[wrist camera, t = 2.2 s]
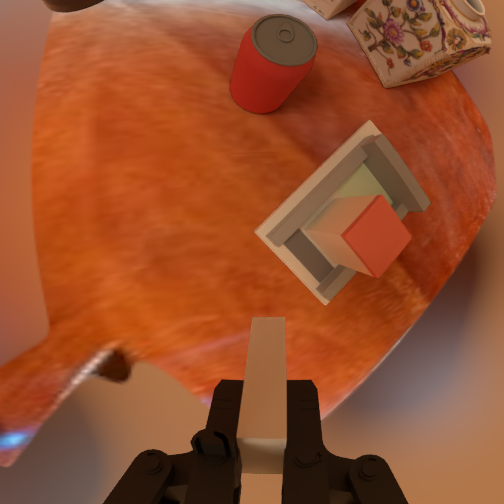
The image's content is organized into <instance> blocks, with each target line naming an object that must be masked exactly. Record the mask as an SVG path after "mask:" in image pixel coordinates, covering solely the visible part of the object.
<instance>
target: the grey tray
mask: <svg viewBox="0 0 504 504" xmlns="http://www.w3.org/2000/svg"><path fill="white" fill-rule="evenodd" d="M370 195H383V196H384V198H385V199H386V200H387V202H388V203H389V204H390V206H391V207H392V209H393V210H394V211H395V213H396V214H397V216H398V217H399V219H400V220H402V219H403V218H404V217H405V215H406V214H407V213H408V212H425V210H426V209H427V208H428V206H429V205H430V204H431V202H430V200H429V199H428V197H427V195H426V194H425V192H424V191H423V189H422V188H421V186H420V185H419V183H418V182H417V180H416V178H415V177H414V176H413V174H412V173H411V171H410V170H409V168H408V167H407V165H406V164H405V162H404V161H403V160H402V158H401V157H400V155H399V154H398V153H397V151H396V150H395V149H394V147H393V146H392V145H391V143H390V142H389V141H388V139H387V138H386V137H385V135H384V134H383V133H382V134H381V132H380V131H379V130H378V129H377V127H376V126H375V125H374V124H373V122H372V121H371V120H368V121H366V122H365V123H364V124H363V125H362V126H361V127H360V128H358V129H357V130H356V131H355V132H354V133H353V134H352V135H351V136H350V137H349V138H348V139H347V140H346V141H345V142H344V143H343V144H342V145H341V146H340V147H339V148H338V149H337V150H336V151H335V152H334V153H332V154H331V155H330V156H329V157H328V158H327V159H326V160H325V161H324V162H323V163H322V164H321V165H320V166H319V167H318V168H317V169H316V170H315V171H314V172H313V173H312V174H311V175H310V176H309V177H308V178H307V179H306V180H305V181H304V182H303V183H302V184H301V185H300V186H299V187H298V188H297V189H295V190H294V191H293V192H292V193H291V194H290V195H289V196H288V197H287V198H286V199H285V200H284V201H283V202H282V203H281V204H280V205H279V206H278V207H277V208H276V209H275V210H274V211H273V212H272V213H271V214H270V215H269V216H268V217H267V218H266V219H265V220H264V221H263V222H262V223H261V224H260V225H259V226H258V227H257V228H256V229H255V230H254V231H253V232H254V233H255V234H256V235H257V236H258V237H259V238H260V239H261V240H262V241H263V242H264V243H265V244H266V245H267V246H268V247H269V248H270V250H271V251H272V252H273V253H274V254H275V255H276V256H277V257H278V258H279V259H280V260H281V261H282V262H283V263H284V264H285V265H286V266H287V267H288V268H289V269H290V270H291V271H292V272H293V274H294V275H295V276H296V277H297V278H298V279H299V280H300V281H301V282H302V283H303V284H304V285H305V286H306V287H307V288H308V289H309V290H310V291H311V292H312V294H313V295H314V296H315V297H316V298H317V299H318V300H319V301H320V302H321V303H322V304H323V305H325V306H326V305H327V304H328V303H329V302H330V301H331V300H332V299H333V298H334V296H335V295H336V294H337V293H338V292H339V291H340V290H341V289H342V288H343V287H344V286H345V285H346V284H347V283H348V281H349V280H350V279H351V278H352V277H353V276H354V275H355V274H356V273H357V272H358V271H356V270H353V269H351V268H348V267H345V266H343V265H340V264H337V263H335V262H332V261H331V260H330V259H329V258H328V256H327V255H326V254H325V253H324V252H323V251H322V250H321V248H320V247H319V246H318V245H317V244H316V243H315V242H314V241H313V239H312V238H311V237H310V236H309V235H308V234H307V233H306V232H305V230H304V229H305V228H306V227H307V226H308V225H309V224H310V223H311V222H312V221H313V220H314V218H315V217H316V216H317V215H318V214H319V213H320V212H321V211H322V210H323V209H324V208H325V207H326V206H327V205H328V204H329V203H330V202H331V201H332V200H333V199H334V198H345V197H357V196H370Z"/></svg>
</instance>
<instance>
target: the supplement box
mask: <svg viewBox="0 0 504 504" xmlns="http://www.w3.org/2000/svg"><path fill="white" fill-rule="evenodd" d="M302 1H303V2H304V3H306V4H307V5H308V6H309V7H311V8H312V9H313V10H315V11H316V12H317V13H318V14H320V15H321V16H322V17H323V18H325V19H326V20H328V19H330V18H331V17H333V16H334V15H336V14H338V13H339V12H341V11H342V10H344V9H345V8H347V7H349V6H350V5H352V4H353V3H355V2H357V1H358V0H302Z"/></svg>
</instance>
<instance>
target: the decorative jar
mask: <svg viewBox="0 0 504 504" xmlns="http://www.w3.org/2000/svg"><path fill="white" fill-rule="evenodd" d="M484 15H485V8H484V6H483V4H482V2H481V1H480V0H367V1H366V2H365V3H364V4H363V5H362V6H361V7H360V8H359V9H358V11H357V12H356V13H355V14H354V15H353V16H352V17H351V19H350V20H349V21H348V22H347V25H348V27H349V28H350V29H351V31H352V32H353V34H354V36H355V38H356V39H357V41H358V42H359V44H360V46H361V47H362V49H363V51H364V52H365V54H366V56H367V58H368V59H369V61H370V63H371V65H372V67H373V68H374V70H375V72H376V74H377V75H378V77H379V79H380V81H381V83H382V85H383V86H384V88H391V87H395V86H399V85H403V84H407V83H413V82H417V81H421V80H426V79H431V78H434V77H437V76H439V75H441V74H443V73H446V72H448V71H450V70H452V69H454V68H456V67H458V66H461V65H463V64H465V63H467V62H469V61H471V60H473V59H475V58H477V57H480V56H482V55H484V54H486V53H487V54H489V52H490V50H491V46H492V38H491V30H490V26H489V23H488V21H487V19H486V17H485V16H484Z"/></svg>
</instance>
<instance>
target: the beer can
mask: <svg viewBox="0 0 504 504" xmlns="http://www.w3.org/2000/svg"><path fill="white" fill-rule="evenodd" d="M317 48H318V47H317V39H316V37H315V35H314V33H313V31H312V30H311V29H310V28H309V27H308V25H306V24H305V23H304V22H302V21H301V20H299V19H297V18H294V17H292V16H289V15H283V14H272V15H267V16H265V17H262V18H260V19H259V20H258V21H257V22H256V23H255V24H254V26H252V27H251V28H250V29H249V30H248V31H247V32H246V33H245V35H244V37H243V39H242V41H241V44H240V48H239V51H238V55H237V58H236V62H235V65H234V69H233V73H232V76H231V80H230V92H231V95H232V98H233V99H234V100H235V102H236V103H237V104H238V105H239V106H240V107H242V108H243V109H245V110H247V111H250V112H253V113H261V114H264V113H268V112H272V111H274V110H276V109H277V108H279V107H280V106H281V105H282V103H283V102H284V101H285V100H286V99H287V97H288V96H289V95H290V94H291V93H292V91H293V90H294V89H295V88H296V87H297V85H298V84H299V83H300V82H301V81H302V79H303V78H304V77H305V76H306V75H307V73H308V72H309V71H310V70H311V69H312V66H313V63H314V60H315V57H316V55H315V54H316V51H317Z"/></svg>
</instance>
